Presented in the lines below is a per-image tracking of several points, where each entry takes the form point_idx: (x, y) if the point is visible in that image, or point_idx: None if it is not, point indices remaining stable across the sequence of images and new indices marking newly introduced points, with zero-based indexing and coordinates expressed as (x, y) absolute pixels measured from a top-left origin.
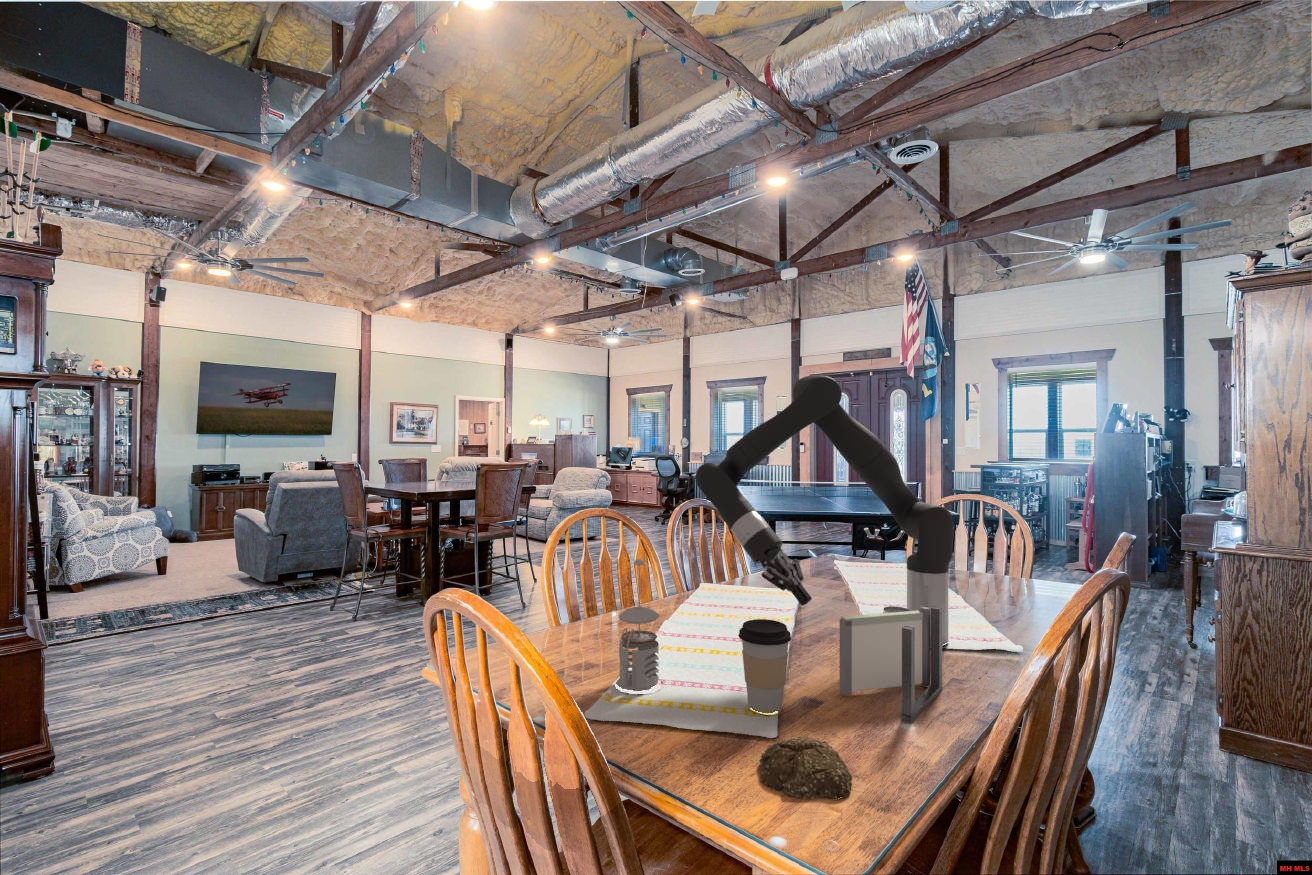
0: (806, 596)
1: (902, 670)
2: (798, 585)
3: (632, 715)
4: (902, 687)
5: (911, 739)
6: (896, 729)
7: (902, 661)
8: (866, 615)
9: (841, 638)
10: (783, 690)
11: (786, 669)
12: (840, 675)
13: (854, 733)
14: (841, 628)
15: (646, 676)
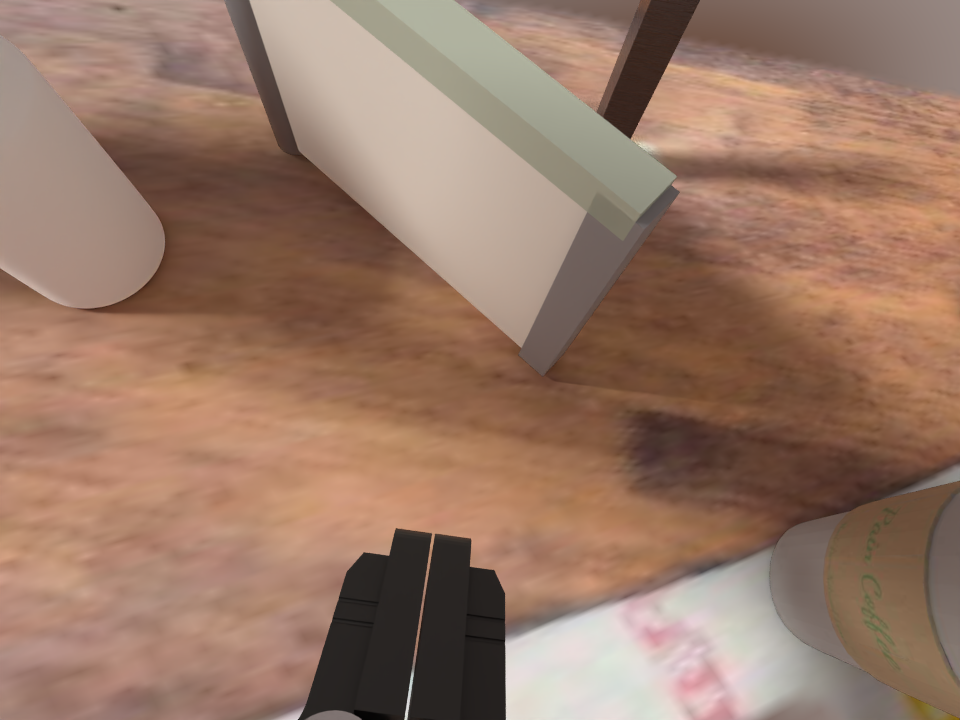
0: (468, 564)
1: (674, 50)
2: (444, 714)
3: None
4: (648, 101)
5: (713, 141)
6: (681, 180)
7: (689, 19)
8: (503, 82)
9: (617, 273)
10: (842, 513)
11: (910, 493)
12: (561, 351)
13: (785, 271)
14: (637, 245)
15: None
